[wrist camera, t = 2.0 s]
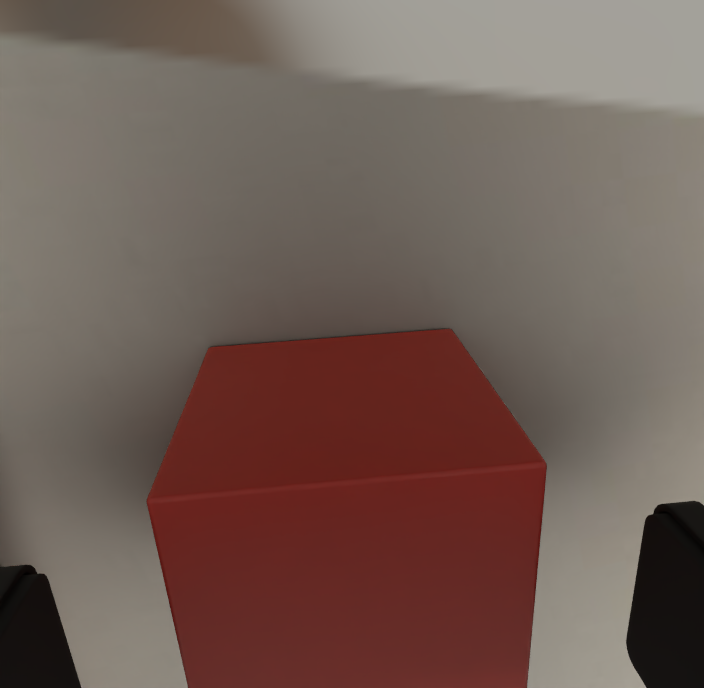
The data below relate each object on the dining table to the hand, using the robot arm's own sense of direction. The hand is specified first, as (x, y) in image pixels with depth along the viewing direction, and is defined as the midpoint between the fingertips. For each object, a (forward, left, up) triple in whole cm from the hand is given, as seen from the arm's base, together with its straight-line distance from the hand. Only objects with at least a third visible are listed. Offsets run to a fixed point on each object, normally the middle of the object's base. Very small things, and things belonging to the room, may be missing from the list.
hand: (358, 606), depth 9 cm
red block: (-1, 0, -4) cm, 4 cm away
